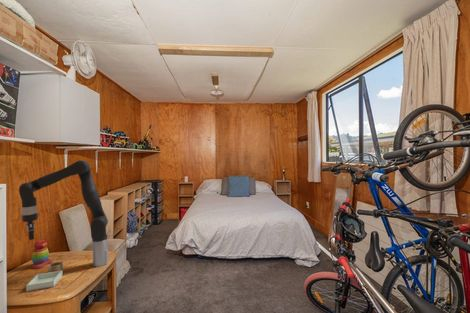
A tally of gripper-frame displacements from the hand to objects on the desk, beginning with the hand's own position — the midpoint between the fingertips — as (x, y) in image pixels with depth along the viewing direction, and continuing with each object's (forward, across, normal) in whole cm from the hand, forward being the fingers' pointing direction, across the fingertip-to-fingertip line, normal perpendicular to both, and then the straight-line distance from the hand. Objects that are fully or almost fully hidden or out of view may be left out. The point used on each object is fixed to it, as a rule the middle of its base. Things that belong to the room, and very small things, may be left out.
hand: (31, 238), depth 146 cm
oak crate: (+25, -8, -11) cm, 28 cm away
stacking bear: (+25, +15, -5) cm, 29 cm away
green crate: (+25, -18, -5) cm, 31 cm away
